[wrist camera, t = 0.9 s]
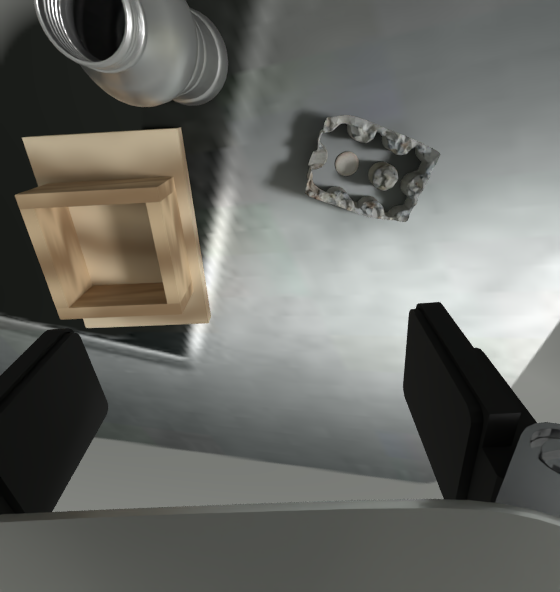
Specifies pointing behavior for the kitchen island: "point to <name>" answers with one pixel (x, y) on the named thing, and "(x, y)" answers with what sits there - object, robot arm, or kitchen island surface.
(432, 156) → the grey rocky tray
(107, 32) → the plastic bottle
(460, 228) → the kitchen island surface
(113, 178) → the tan wooden box
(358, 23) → the kitchen island surface
